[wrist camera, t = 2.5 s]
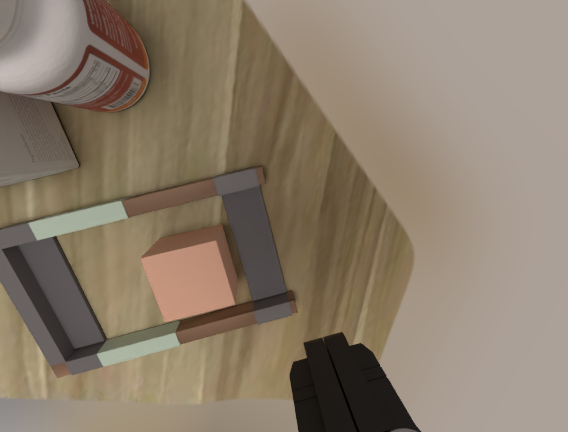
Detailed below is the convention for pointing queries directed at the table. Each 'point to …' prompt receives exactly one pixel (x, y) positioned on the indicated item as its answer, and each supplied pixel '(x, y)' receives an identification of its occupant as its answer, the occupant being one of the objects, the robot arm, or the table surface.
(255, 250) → the frame
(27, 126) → the product box
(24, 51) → the pill bottle
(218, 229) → the terracotta block
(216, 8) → the table surface
